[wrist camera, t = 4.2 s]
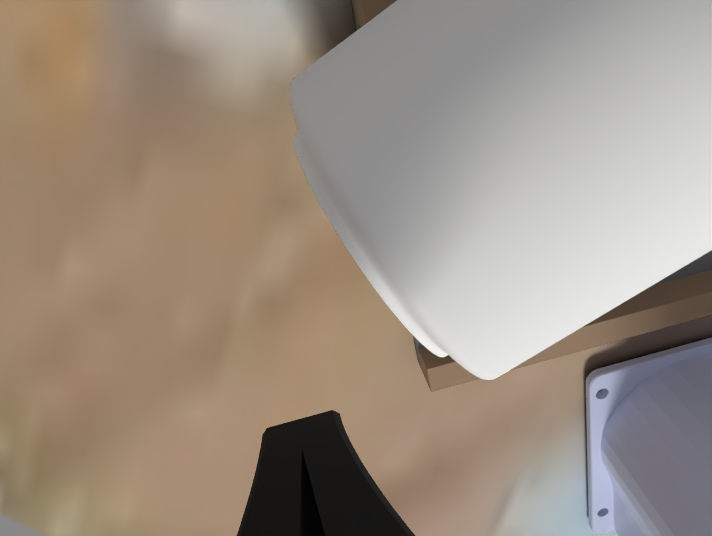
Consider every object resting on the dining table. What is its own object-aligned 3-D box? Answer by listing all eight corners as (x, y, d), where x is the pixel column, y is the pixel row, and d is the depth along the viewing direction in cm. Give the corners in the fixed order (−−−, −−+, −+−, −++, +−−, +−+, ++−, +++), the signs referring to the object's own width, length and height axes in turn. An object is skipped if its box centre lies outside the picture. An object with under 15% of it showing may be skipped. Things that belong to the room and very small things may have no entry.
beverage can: (229, 33, 15) (725, -358, 12) (386, 212, 21) (737, -26, 19) (345, 308, 10) (1204, -252, 8) (506, 435, 16) (1003, 150, 14)
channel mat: (715, 280, 25) (747, 305, 23) (417, 360, 24) (430, 391, 23) (752, -113, 18) (802, -114, 17) (347, -17, 18) (359, -10, 16)
